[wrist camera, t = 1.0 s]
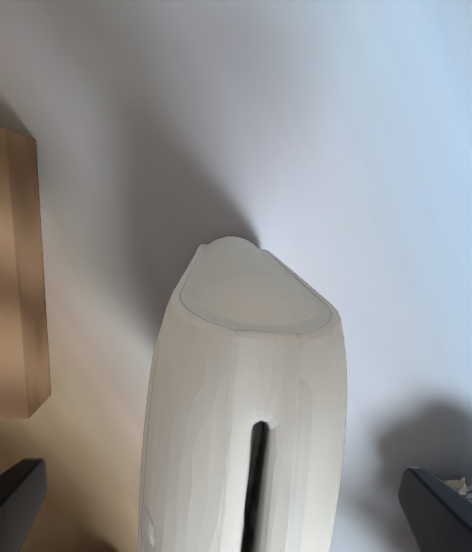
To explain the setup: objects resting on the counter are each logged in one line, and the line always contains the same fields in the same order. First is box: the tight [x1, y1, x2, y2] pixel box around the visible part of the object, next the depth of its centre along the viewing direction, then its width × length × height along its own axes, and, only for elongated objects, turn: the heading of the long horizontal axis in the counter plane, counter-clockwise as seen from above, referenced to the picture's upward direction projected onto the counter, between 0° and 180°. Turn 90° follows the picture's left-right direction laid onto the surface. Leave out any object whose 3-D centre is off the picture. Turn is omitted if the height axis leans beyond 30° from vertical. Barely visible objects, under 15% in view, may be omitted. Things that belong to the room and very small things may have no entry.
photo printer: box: [138, 236, 347, 552], centre depth 10 cm, size 10×4×12 cm, turn 174°
